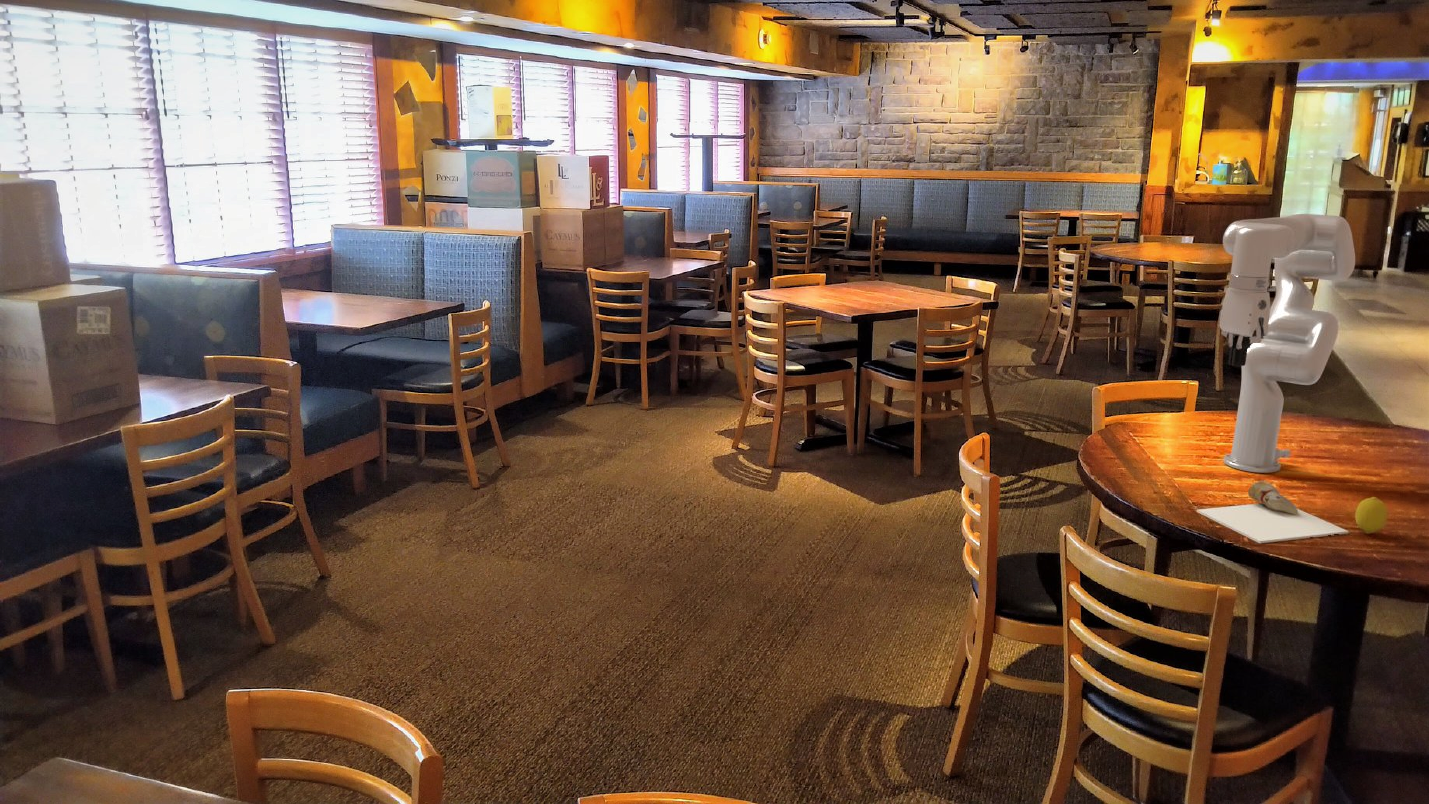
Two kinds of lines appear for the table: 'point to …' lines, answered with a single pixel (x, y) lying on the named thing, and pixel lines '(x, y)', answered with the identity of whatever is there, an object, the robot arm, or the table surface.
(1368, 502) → the lemon
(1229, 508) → the mat
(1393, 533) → the table surface
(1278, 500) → the chocolate bunny
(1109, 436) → the table surface
